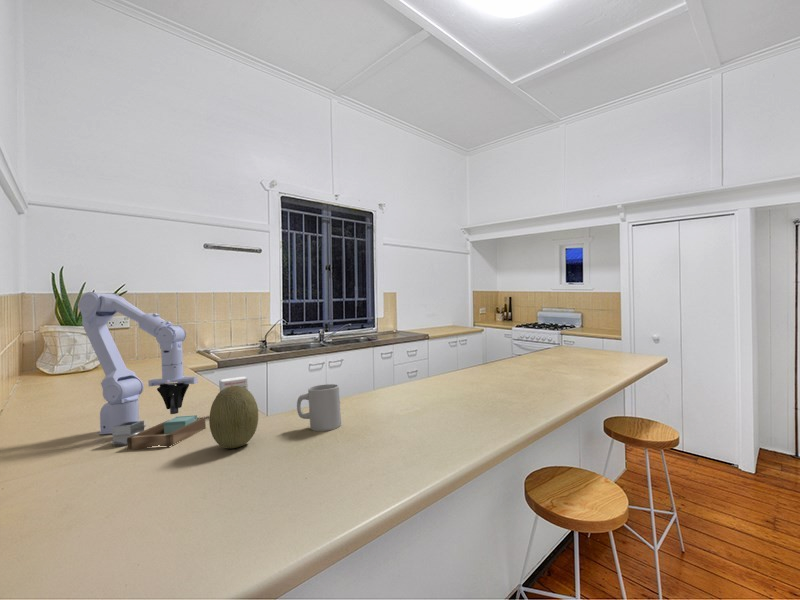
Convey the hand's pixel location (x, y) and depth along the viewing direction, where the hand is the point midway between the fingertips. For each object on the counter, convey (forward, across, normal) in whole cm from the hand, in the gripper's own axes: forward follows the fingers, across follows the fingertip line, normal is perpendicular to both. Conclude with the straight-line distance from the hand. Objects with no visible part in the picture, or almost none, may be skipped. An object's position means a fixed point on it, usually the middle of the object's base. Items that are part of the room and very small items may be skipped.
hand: (174, 408), depth 115 cm
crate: (+6, +6, -6) cm, 11 cm away
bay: (+6, +6, -12) cm, 14 cm away
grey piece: (+6, -4, -13) cm, 15 cm away
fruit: (+6, +30, -22) cm, 38 cm away
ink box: (+6, +12, +14) cm, 19 cm away
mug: (+6, +48, -10) cm, 50 cm away
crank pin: (+2, 0, 0) cm, 2 cm away
